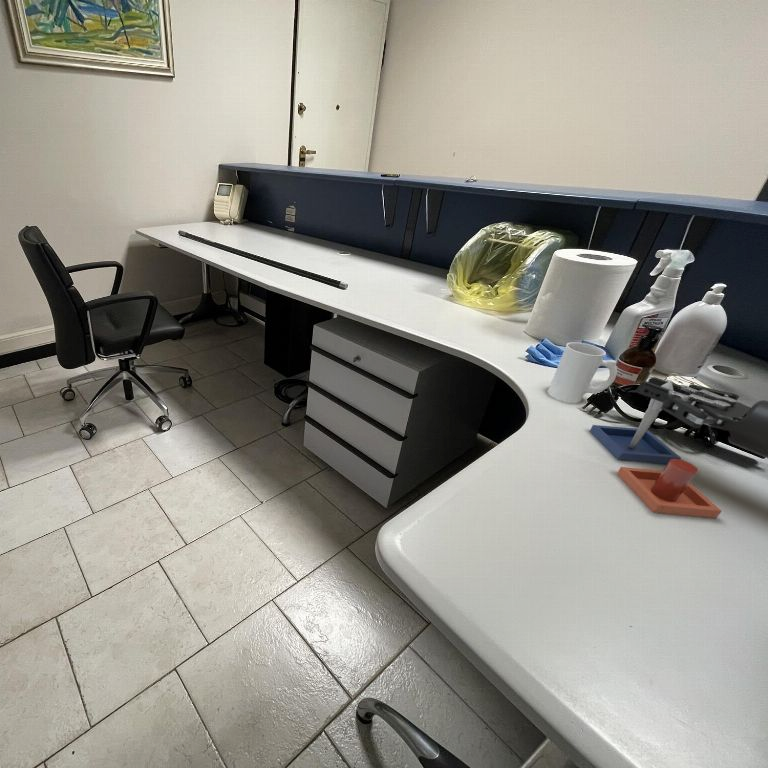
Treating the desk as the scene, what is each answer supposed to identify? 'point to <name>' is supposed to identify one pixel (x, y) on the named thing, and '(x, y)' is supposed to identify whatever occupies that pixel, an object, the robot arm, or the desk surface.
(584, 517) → the desk surface
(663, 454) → the blue tray
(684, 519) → the desk surface
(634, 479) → the terracotta tray
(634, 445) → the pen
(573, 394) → the mug
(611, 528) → the desk surface
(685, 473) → the red peg
